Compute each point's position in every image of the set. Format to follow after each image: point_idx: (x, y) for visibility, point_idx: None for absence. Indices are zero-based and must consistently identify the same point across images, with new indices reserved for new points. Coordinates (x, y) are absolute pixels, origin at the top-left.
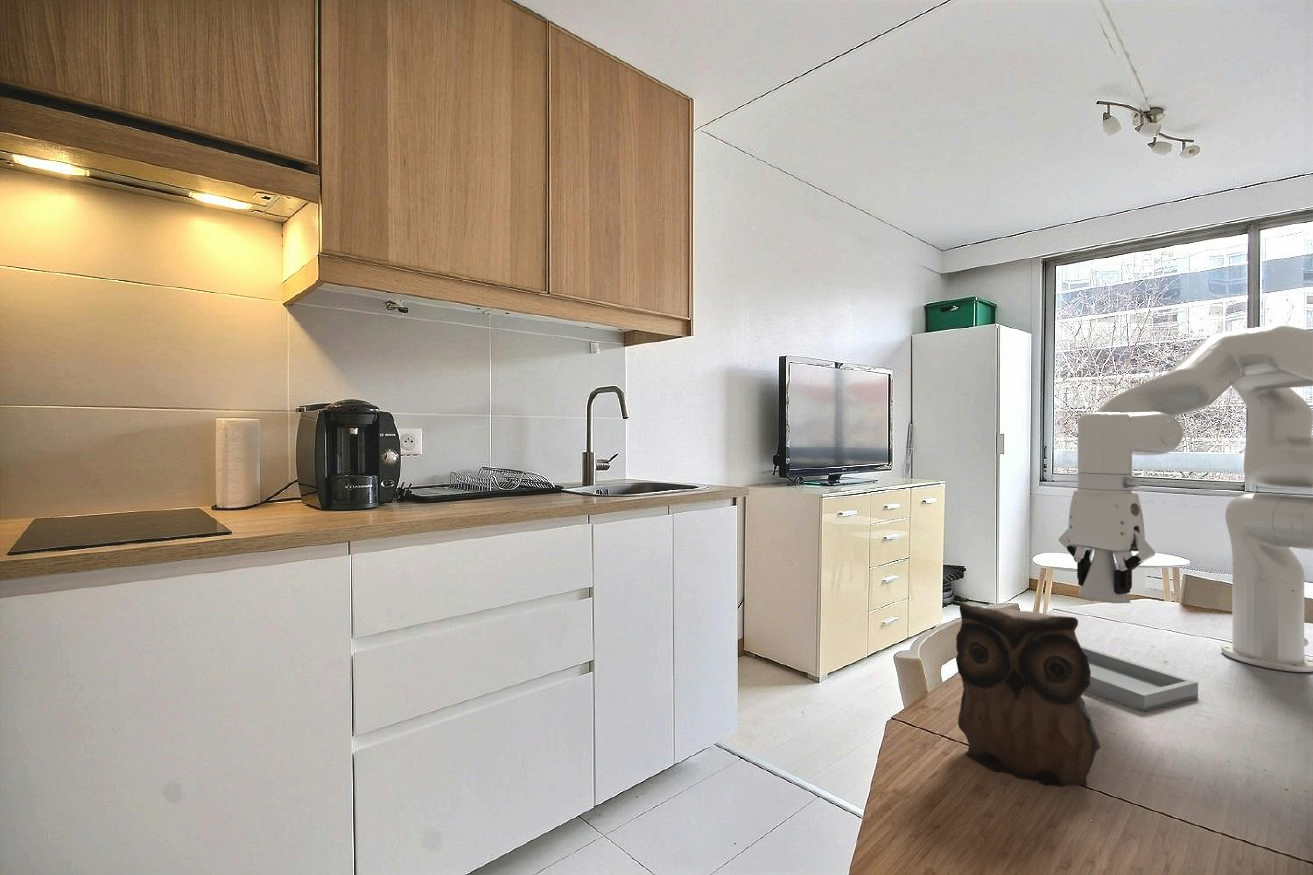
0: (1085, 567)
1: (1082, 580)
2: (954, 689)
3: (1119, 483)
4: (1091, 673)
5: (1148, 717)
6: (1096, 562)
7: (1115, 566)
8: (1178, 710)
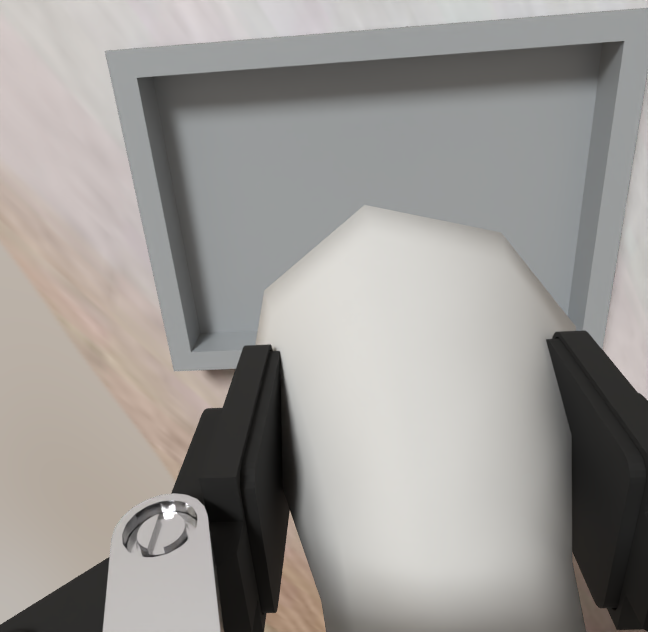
0: (274, 557)
1: None
2: (290, 607)
3: None
4: (336, 212)
5: (604, 350)
6: None
7: (570, 559)
8: (631, 215)
